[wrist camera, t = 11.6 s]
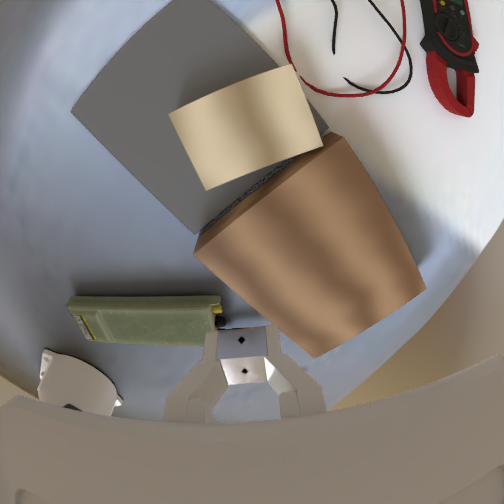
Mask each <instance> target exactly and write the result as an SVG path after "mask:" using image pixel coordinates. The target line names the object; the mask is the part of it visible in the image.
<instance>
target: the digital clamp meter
mask: <svg viewBox="0 0 504 504" xmlns="http://www.w3.org/2000/svg"><path fill="white" fill-rule="evenodd" d="M368 1H369V2H370V3H371V5H372V6H373V7H374V9H375V10H376V11H377V12H378V13H379V15H380V16H381V17H382V18H383V19H384V21H385V22H386V23H387V24H388V26H389V27H390V28H391V30H392V31H393V32H394V34H395V35H396V37H397V38H398V40H399V41H400V43H401V44H402V46H401V51H400V56H399V60H398V62H397V65H396V67H395V69H394V70H393V72H392V74H391V75H390V76H389V78H388V79H387V80H386V81H385V82H384V83H383V84H382V85H381V86H380V87H378V88H376V89H374V90H369V89H365V88H362V87H360V86H357V85H355V84H354V83H352V82H350V81H349V80H348V79H346V78H344V77H343V78H344V79H345V80H346V81H347V82H348V83H349V84H351V85H352V86H354V87H356V88H358V89H361V90H363V91H366V93H360V94H336V93H329V92H326V91H323V90H320V89H317V88H315V87H314V86H312V85H310V84H308V83H307V82H306V81H305V80H304V79H303V78H302V77H301V76H300V78H301V79H302V81H303V82H304V83H305V84H306V85H307V86H309V87H310V88H311V89H313V90H314V91H316V92H319V93H322V94H325V95H328V96H335V97H363V96H367V95H371V94H374V93H376V94H389V93H395V92H398V91H400V90H402V89H404V88H405V87H406V86H407V85H408V84H409V82H410V80H411V77H412V69H413V67H412V61H411V57H410V55H409V52H408V50H407V48H406V46H405V43H406V15H405V6H404V1H403V0H400V1H401V7H402V16H403V41H402V39H401V38H400V37H399V35H398V34H397V32H396V31H395V29H394V28H393V27H392V25H391V24H390V23H389V22H388V20H387V19H386V18H385V17H384V15H383V14H382V13H381V12H380V11H379V9H378V8H377V7H376V6H375V4H374V3H373V2H372V1H371V0H368ZM331 2H332V4H333V6H334V10H335V20H334V28H333V39H332V51H333V54H335V36H336V27H337V19H338V11H337V5H336V3H335V1H334V0H331ZM420 3H421V9H422V16H423V23H424V30H425V36H424V38H423V39H422V41H421V43H420V45H421V47H422V48H423V49H424V50H425V51H426V52H427V57H426V65H427V74H428V79H429V83H430V86H431V89H432V91H433V93H434V95H435V97H436V98H437V100H438V101H439V102H440V103H441V104H442V106H443V107H444V108H445V109H446V110H448V111H449V112H451V113H453V114H456V115H460V116H464V117H469V118H470V117H471V116H472V115H473V113H474V96H475V76H474V73H479V69H478V66H477V63H476V59H475V56H474V54H475V51H477V49H478V46H479V43H478V42H477V41H476V39H475V38H474V37H473V33H472V25H471V18H470V12H469V7H468V2H467V0H420ZM276 4H277V7H278V10H279V13H280V17H281V21H282V28H283V40H284V47H285V53H286V56H287V59H288V61H289V63H290V64H292V66H293V68H294V70H295V71H296V69H295V67H294V65H293V63H292V61H291V57H290V54H289V51H288V43H287V32H286V24H285V18H284V14H283V11H282V8H281V5H280V2H279V0H276ZM404 50H405V52H406V54H407V57H408V59H409V65H410V74H409V77H408V80H407V81H406V83H405V84H404V85H403V86H401V87H400V88H398V89H395V90H392V91H379V90H381V89H383V88H384V87H385V86H386V85H387V84H388V83H389V82H390V81H391V79H392V78H393V77H394V76H395V74H396V72H397V70H398V68H399V66H400V64H401V61H402V57H403V53H404ZM446 66H447V67H450V68H452V69H455V71H456V79H457V99H456V98H455V97H454V95H453V94H452V92H451V90H450V88H449V84H448V80H447V73H446V70H447V67H446ZM296 72H297V71H296Z"/></svg>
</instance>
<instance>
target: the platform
mask: <svg viewBox="0 0 504 504" xmlns="http://www.w3.org/2000/svg"><path fill="white" fill-rule="evenodd" d="M321 141H322V143H323V146H322V147H319V148H316V149H313V150H310V151H307V152H304V153H302V154H300V155H299V156H298V157H296V158H295V159H294V160H292V161H291V162H290V163H289V164H287V165H286V166H285V167H283V168H282V169H281V170H279V171H278V172H277V173H276V174H274V175H273V176H272V177H271V178H269V179H268V180H267V181H265V182H264V183H263V184H262V185H260V186H259V187H258V188H257V189H255V190H254V191H253V192H252V193H250V194H249V195H248V196H247V197H245V198H244V199H243V200H242V201H240V202H239V203H238V204H237V205H236V206H234V207H233V208H232V209H231V210H229V211H228V212H227V213H226V214H225V215H223V216H222V217H221V218H220V219H219V220H217V221H216V222H215V223H214V224H213V225H211V226H210V227H209V228H208V229H207V230H206V231H204V232H203V233H202V234H201V235H200V236H199V237H198V240H197V243H196V247H195V250H194V253H193V255H194V256H195V257H196V258H197V259H198V260H199V261H200V262H202V263H203V264H204V265H205V266H206V267H207V268H208V269H209V270H210V271H212V272H213V273H214V274H215V275H216V276H217V277H218V278H220V279H221V280H222V281H223V282H224V283H225V284H226V285H227V286H229V287H230V288H231V289H232V290H233V291H234V292H236V293H237V294H238V295H239V296H240V297H241V298H242V299H244V300H245V301H246V302H247V303H248V304H249V305H251V306H252V307H253V308H254V309H255V310H257V311H258V312H259V313H260V314H261V315H262V316H264V317H265V318H266V319H267V320H268V321H270V322H271V323H272V324H273V325H278V329H279V330H280V331H282V332H283V333H284V334H285V335H286V336H288V337H289V338H290V339H291V340H293V341H294V342H295V343H296V344H297V345H299V346H300V347H301V348H302V349H304V350H305V351H306V352H307V353H309V354H310V355H311V356H312V357H314V358H316V357H318V356H320V355H322V354H324V353H326V352H328V351H330V350H331V349H333V348H335V347H337V346H339V345H340V344H342V343H344V342H346V341H347V340H349V339H351V338H352V337H354V336H356V335H358V334H359V333H361V332H363V331H364V330H366V329H367V328H369V327H371V326H372V325H374V324H375V323H377V322H379V321H380V320H382V319H383V318H385V317H386V316H388V315H390V314H391V313H393V312H394V311H396V310H397V309H399V308H400V307H401V306H403V305H404V304H406V303H407V302H409V301H410V300H412V299H413V298H414V297H416V296H417V295H419V294H420V293H421V292H423V291H424V290H425V289H426V286H425V284H424V281H423V279H422V277H421V274H420V272H419V270H418V268H417V265H416V263H415V261H414V259H413V257H412V255H411V252H410V250H409V248H408V246H407V244H406V242H405V240H404V238H403V236H402V234H401V232H400V230H399V228H398V226H397V224H396V222H395V220H394V219H393V217H392V215H391V213H390V211H389V209H388V208H387V206H386V204H385V202H384V200H383V199H382V197H381V195H380V193H379V192H378V190H377V188H376V187H375V185H374V183H373V182H372V180H371V178H370V177H369V175H368V173H367V172H366V170H365V169H364V167H363V165H362V164H361V162H360V161H359V159H358V158H357V156H356V155H355V153H354V152H353V150H352V149H351V147H350V146H349V144H348V143H347V141H346V140H345V138H344V137H342V136H340V135H338V134H335V133H333V132H330V133H329V134H327V135H326V136H324V137H323V138H322V139H321Z"/></svg>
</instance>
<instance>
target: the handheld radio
mask: <svg viewBox="0 0 504 504" xmlns="http://www.w3.org/2000/svg"><path fill="white" fill-rule="evenodd" d="M220 302H221V296H213V295H205V296H162V297H93V296H71V297H70V299H69V301H68V302H67V305H66V306H67V308H68V310H69V312H70V313H71V315H72V317H73V319H74V321H75V322H76V324H77V326H78V328H79V329H80V331H81V333H82V334H83V336H84V338H85V339H86V340H88V341H98V342H109V343H121V344H136V345H157V346H204V344H205V336H206V332H207V331H219V330H233V329H243V328H232V329H219V327H223V326H225V325H226V319H225V317H223V316H218V317H217V316H216V313H217V312H218V313H219V312H220V313H221V312H222V305H218V304H220ZM265 330H266V329H265Z"/></svg>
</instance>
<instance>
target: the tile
mask: <svg viewBox="0 0 504 504" xmlns="http://www.w3.org/2000/svg"><path fill="white" fill-rule="evenodd" d="M168 115H169V117H170V119H171V121H172V123H173V125H174V127H175V129H176V131H177V133H178V135H179V138H180V140H181V142H182V144H183V146H184V148H185V150H186V152H187V154H188V156H189V158H190V160H191V162H192V164H193V166H194V168H195V170H196V172H197V174H198V176H199V178H200V180H201V182H202V184H203V186H204V188H205V190H206V191H207V190H209V189H211V188H214V187H216V186H219V185H221V184H223V183H226V182H228V181H231V180H233V179H235V178H238V177H240V176H243V175H245V174H248V173H250V172H253V171H256V170H258V169H261V168H263V167H266V166H269V165H271V164H274V163H277V162H279V161H282V160H285V159H287V158H290V157H293V156H296V155H299V154H301V153H304V152H307V151H310V150H313V149H316V148H319V147H322V146H323V143H322V141H321V138H320V135H319V132H318V129H317V126H316V124H315V121H314V118H313V115H312V113H311V110H310V107H309V105H308V102H307V100H306V97H305V95H304V92H303V90H302V87H301V85H300V82H299V80H298V77H297V75H296V73H295V70H294V68H293V66H292V64H289V65H286V66H282V67H279V68H276V69H273V70H270V71H267V72H264V73H261V74H259V75H256V76H253V77H250V78H248V79H245V80H242V81H240V82H237V83H235V84H232V85H230V86H227V87H225V88H223V89H220V90H218V91H216V92H213V93H211V94H209V95H207V96H204V97H202V98H200V99H198V100H196V101H194V102H192V103H189V104H187V105H185V106H183V107H181V108H179V109H177V110H175V111H173V112H172V113H170V114H168Z"/></svg>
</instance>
